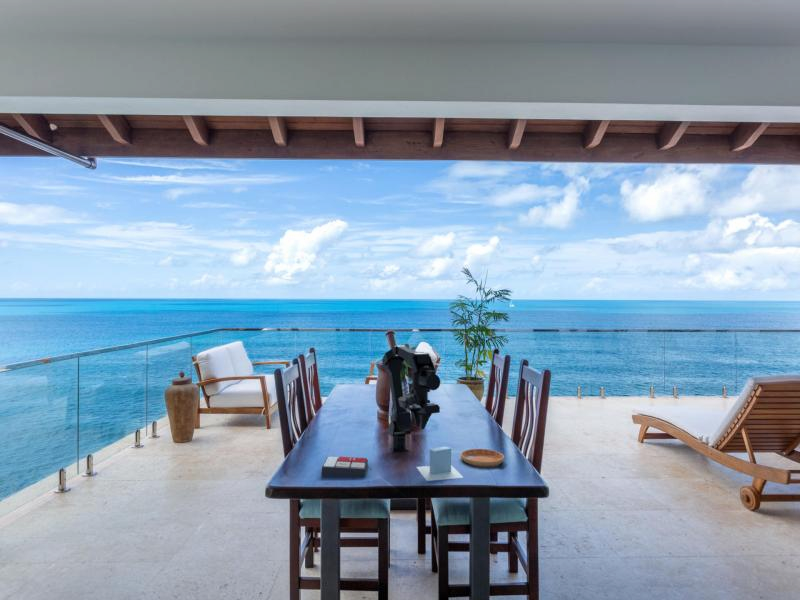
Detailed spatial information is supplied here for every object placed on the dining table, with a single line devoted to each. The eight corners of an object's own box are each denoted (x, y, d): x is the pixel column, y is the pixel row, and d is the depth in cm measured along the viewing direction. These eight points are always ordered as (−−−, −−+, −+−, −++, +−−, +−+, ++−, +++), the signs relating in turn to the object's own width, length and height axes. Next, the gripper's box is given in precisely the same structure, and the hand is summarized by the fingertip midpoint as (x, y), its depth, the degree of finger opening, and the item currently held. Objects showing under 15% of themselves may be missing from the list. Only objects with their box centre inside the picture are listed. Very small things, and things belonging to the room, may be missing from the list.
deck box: (429, 472, 158) (429, 448, 159) (446, 468, 162) (446, 446, 162) (434, 474, 156) (434, 451, 156) (451, 471, 159) (451, 448, 159)
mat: (416, 468, 163) (416, 467, 163) (450, 465, 166) (450, 464, 166) (426, 482, 150) (426, 480, 150) (463, 479, 153) (463, 477, 153)
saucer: (466, 453, 181) (466, 446, 181) (506, 458, 175) (506, 450, 175) (456, 466, 166) (456, 458, 166) (500, 472, 160) (500, 464, 160)
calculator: (365, 467, 155) (321, 465, 156) (364, 480, 155) (321, 477, 155) (368, 456, 166) (327, 454, 167) (367, 468, 166) (326, 466, 166)
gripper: (389, 384, 175) (389, 424, 174) (413, 392, 158) (413, 437, 158) (415, 381, 180) (415, 421, 179) (440, 389, 163) (440, 433, 163)
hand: (420, 428), depth 170 cm, fingers open, 3 cm apart
